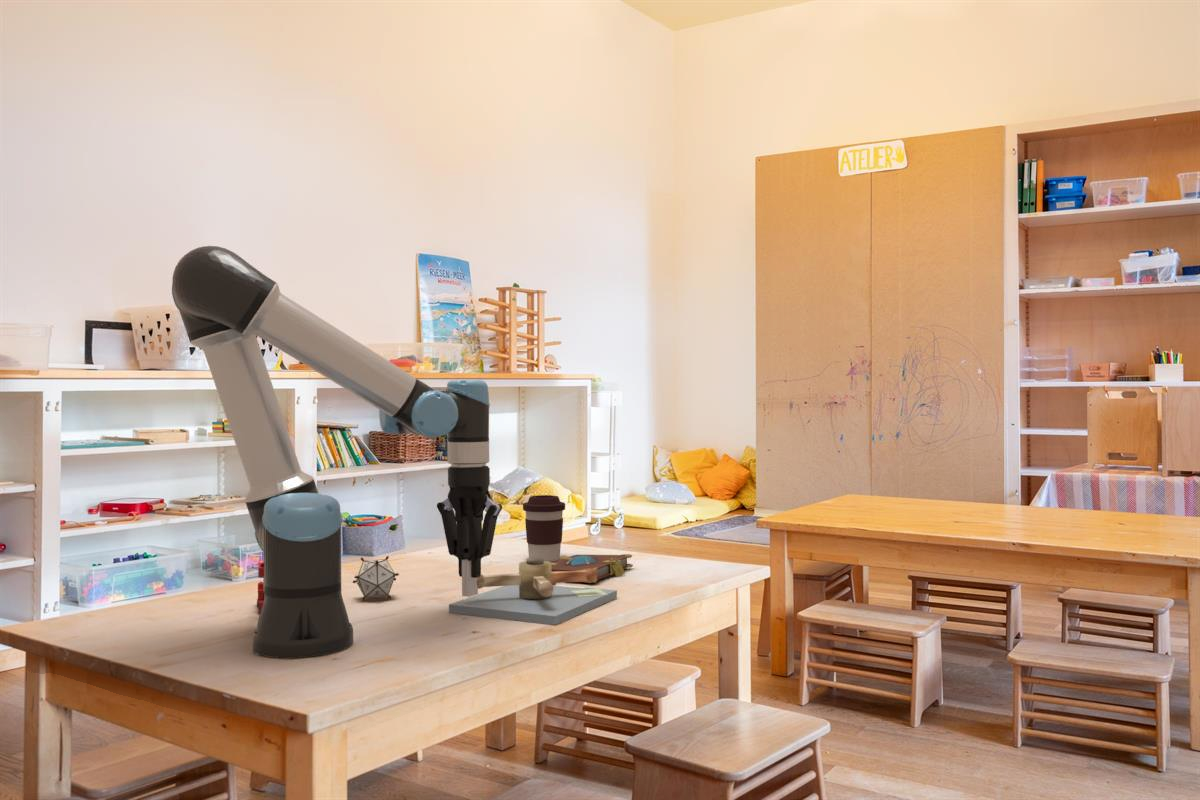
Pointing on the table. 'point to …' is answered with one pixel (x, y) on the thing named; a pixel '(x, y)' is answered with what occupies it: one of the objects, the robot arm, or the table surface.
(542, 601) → the plate
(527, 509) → the coffee cup
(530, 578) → the capstan
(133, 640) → the table surface
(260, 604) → the toy fire truck
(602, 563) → the book
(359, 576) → the game die
